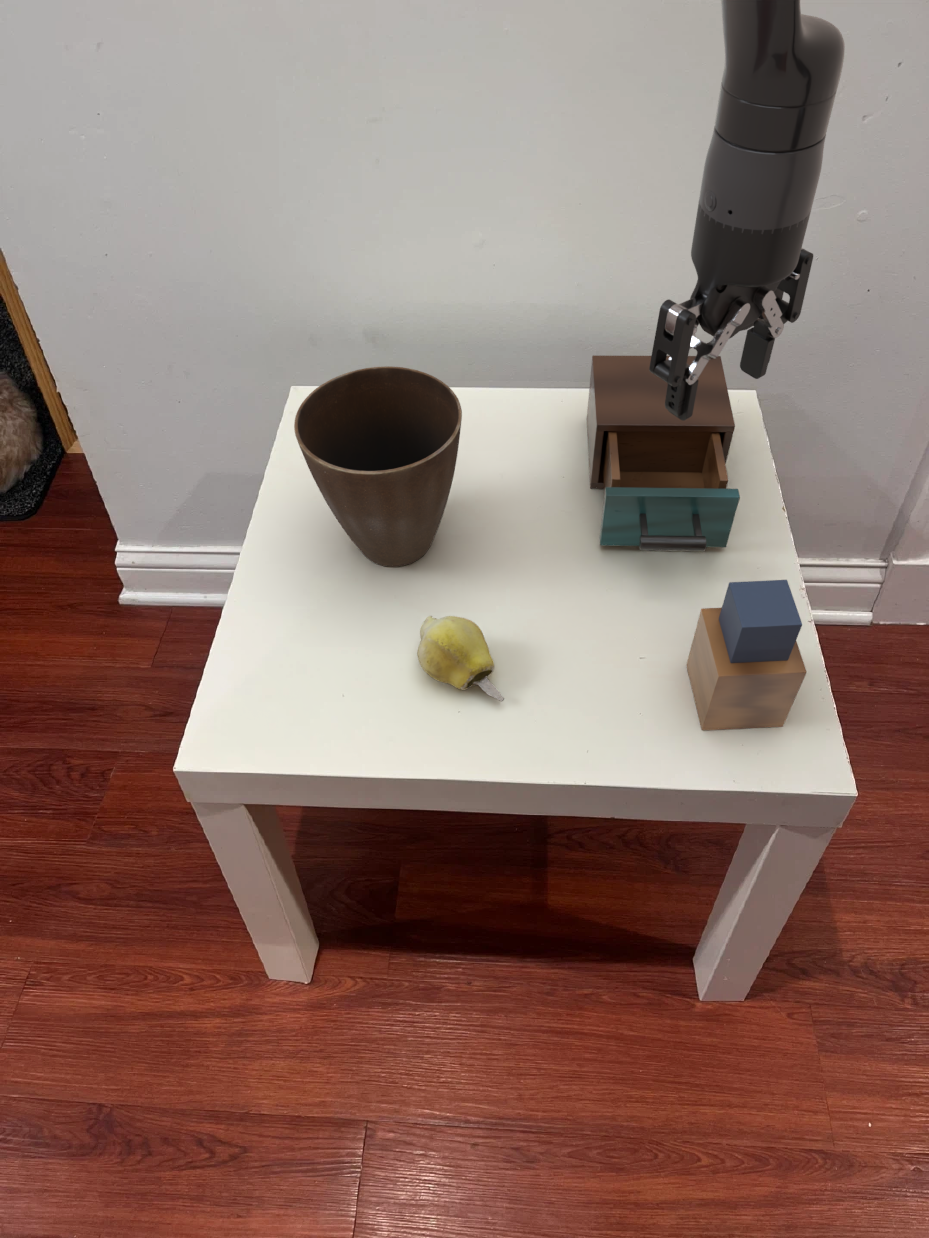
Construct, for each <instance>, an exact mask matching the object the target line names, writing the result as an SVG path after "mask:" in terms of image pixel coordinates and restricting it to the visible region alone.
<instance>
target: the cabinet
mask: <svg viewBox="0 0 929 1238" xmlns="http://www.w3.org/2000/svg"><path fill="white" fill-rule="evenodd" d="M651 356H652V355H595V354H593V355H592V356H591V366H590V376H589V387H588V400H587V409H586V410H587V411H586V433H587V435H586V436H587V451H588V452H587V454H588V455H587V456H588V474H589V488H590V489H594V490H598V489H599V490H600V489H601V490H602V489H603V490H604V482H603V467H604V458H605V449H606V440H607V431H666V432H719V434H720V439H721V444H722V450H723V455H724V460H725V465H726V464H727V460H728V456H729V453H730V447H731V444H732V440H733V436H734V432H735V428H736V423H735V418H734V413H733V409H732V404H731V399H730V395H729V391H728V384H727V380H726V374H725V370H724V366H723V361H722V356H721V355H719V356H718V357H717V358H715V359H710V360H709V361H708V363H707V364H706V366H705V368H704V369H703V371H702V372H701V374H700V376H699V377H698V379H697V380H698V387H697V392H696V398H695V403H694V409H693V414H692V416H691V417H690V418H688V419H686V420H684V421H682V420H680V419H679V418H677V417H676V416H674V415H673V414H672V413H670V412H669V411H668V410H667V409H666V408H665V399H666V392H667V385H668V383H667V382H665V381H664V380H662V379H661V378H659V377H657V376H656V375H654V374H653V373H651V372H650V371H649V367H650V361H651ZM669 357H670V356H669V355H667V357H666V360H668V359H669ZM695 357H696V355H688V359H687V364H689V365H691V363H692V362H693V360H694V358H695ZM726 466H727V465H726Z"/></svg>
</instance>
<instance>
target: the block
mask: <svg viewBox="0 0 929 1238" xmlns="http://www.w3.org/2000/svg"><path fill="white" fill-rule="evenodd" d="M792 593H793V592H792V591H791V587H790V584H789V582H788V579H772V580H769V579H768V580H750V581H730V582H728V585H727V588H726V592H725V595H724V598H723V602H722V606H721V608H722V609H721V612H720V616H719V622H720V626H721V630H722V633H723V637H724V641H725V644H726V648H727V652H728V655H729V659H730V663H745V662H766V661H787V660H788V659H789V656H790V654H791V651H792V649H793V647H794V644H795V642H796V641H797V639H798V636H799V634H800V631H801V629H802V627H803V623H802V619H801V616H800V613H799V610H798V608H797V604H796V601H795V598H794V596H793V594H792Z"/></svg>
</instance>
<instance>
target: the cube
mask: <svg viewBox="0 0 929 1238" xmlns="http://www.w3.org/2000/svg"><path fill="white" fill-rule="evenodd" d="M721 609H722V607H707V608H700V612H699V615H698V620H697V624H696V627H695V631H694V633H693V634H694V635H693V638H692V643H691V647H690V650H689V655H688V656H687V661H686V669H687V673H688V678H689V683H690V687H691V691H692V695H693V700H694V704H695V707H696V712H697V717H698V720H699V725H700V730H701V731H715V730H716V731H717V730H718V731H719V730H720V731H721V730H738V729H759V728H760V729H762V728H779V727H780V728H781V727H784V725H785V723H786V721H787V719H788V716H789V714H790V711H791V709H792V707H793V704H794V703H795V699H797V696H798V694H799V691H800V688H801V686H802V684H803V682H804V680H805V677H806V675H807V668H806V666H805V663H804V659H803V657H802V654H801V650H800V647H799V644H798V641H797V640H796V642H795V644H794V647H793V649H792V651H791V654H790V656H789V659H788V660H787V661H766V662H745V663H730V659H729V655H728V652H727V648H726V644H725V641H724V637H723V633H722V630H721V626H720V622H719V616H720V612H721Z"/></svg>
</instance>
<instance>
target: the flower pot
mask: <svg viewBox="0 0 929 1238" xmlns="http://www.w3.org/2000/svg"><path fill="white" fill-rule="evenodd" d="M301 402H302V403H300V406H299V407H298V409H297V412H296V413H295V417H294V423H293V429H294V436H295V438H296V441H297V444H298V446H299V448H300V451H301V453H302V455H303V458H304V461H305V463H306V466H307V468H308V470H309V472H310V475H311V476H312V479H313V480H314V482H315V484H316V486H317V488H318V490H319V492H320V494H321V495H322V497H323V499H324V501H325V503H326V504H327V505H328V508H329V509H330V511H331V513H332V514H333V516H334V517H335V519H336V520H337V522H338V523H339V525H340V526H341V528H342V529H343V531H344V532H345V534H346V535H347V536H348V537H349V539H350V540H351V541H352V543H353V544H354V545H355V546H356V547H357V549H358V550H359V551H360V552H361V553H362V554H363V556H364V557H365V558H366V559H367V560H369V561H370V562H372V563H374V564H376V565H379V566H383V567H389V568H397V567H404V566H407V565H410V564H413V563H415V562H416V561H419V560H421V558H423V557H424V555H426V554H427V552H428V551H429V549H430V548H431V545H432V543H433V541H434V540H435V537H436V534H437V533H438V530H439V527H440V525H441V522H442V519H443V517H444V513H445V510H446V507H447V503H448V500H449V497H450V492H451V489H452V484H453V480H454V475H455V471H456V464H457V459H458V453H459V446H460V437H461V428H462V420H463V410H462V405H461V402H460V400H459V398H458V396H457V395H456V393H455V392H454V391H453V390H452V388H451V387H450V386H448V385H447V384H446V383H445V382H444V381H443V380H441V379H440V378H437V377H435V376H433V375H431V374H429V373H426V372H424V371H421V370H418V369H413V368H408V367H403V366H387V365H386V366H371V367H365V368H360V369H355V370H351V371H348V372H347V373H342V374H340V375H338V376H335V377H333V378H331V379H328V380H327V381H325V382H323V383H321V385H318V386H317V387H316V388H315V389H314V390H313V391H311V392H310V393H309V394H307V396H306V398H304V400H303V401H301Z"/></svg>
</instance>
